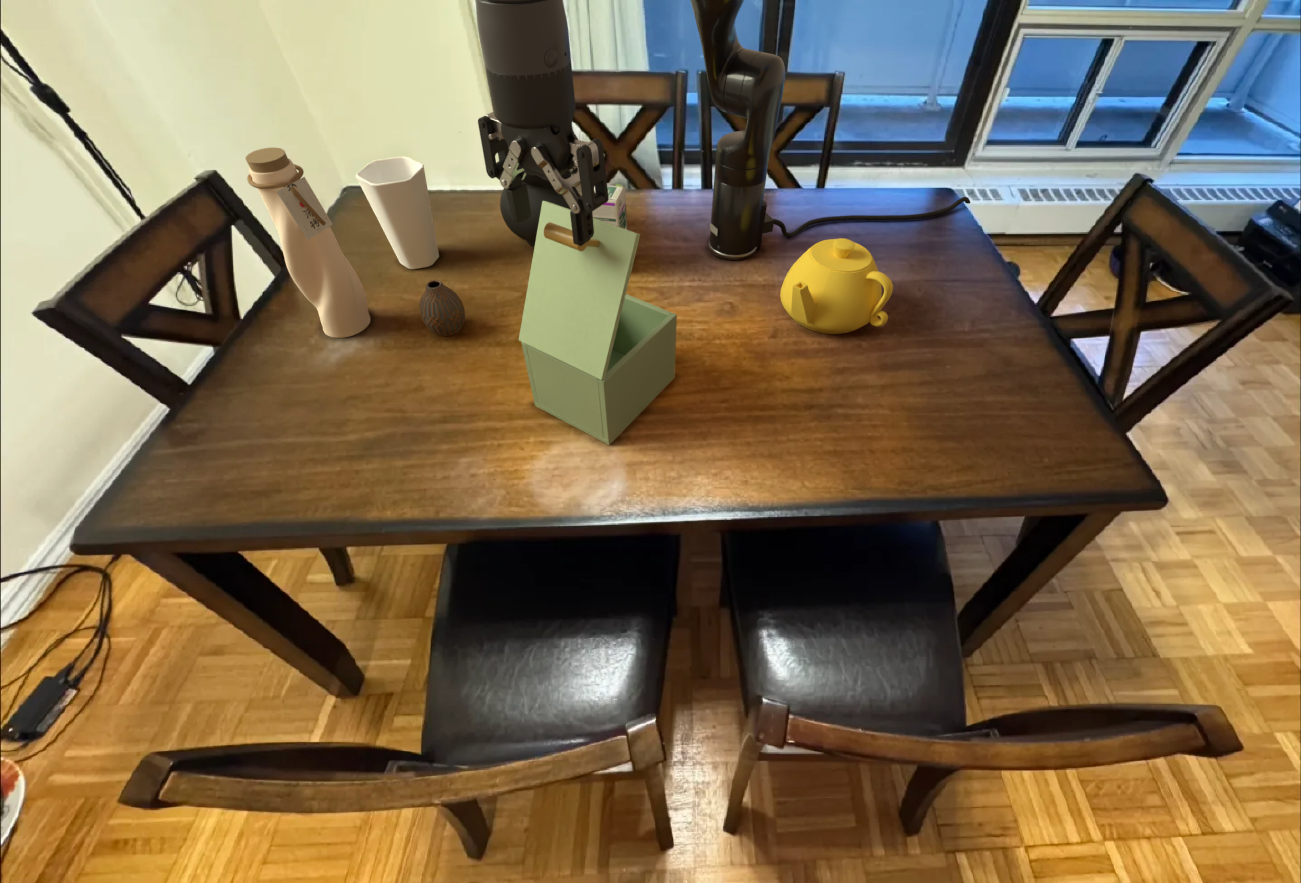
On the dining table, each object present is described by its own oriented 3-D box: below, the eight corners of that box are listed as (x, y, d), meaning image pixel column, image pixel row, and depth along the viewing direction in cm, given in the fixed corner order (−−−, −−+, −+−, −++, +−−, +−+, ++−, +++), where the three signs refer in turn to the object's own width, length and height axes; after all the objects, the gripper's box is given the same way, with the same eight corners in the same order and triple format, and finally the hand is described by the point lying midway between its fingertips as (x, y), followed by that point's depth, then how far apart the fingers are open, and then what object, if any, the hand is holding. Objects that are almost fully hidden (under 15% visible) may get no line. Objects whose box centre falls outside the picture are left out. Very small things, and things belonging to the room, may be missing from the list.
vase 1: (433, 346, 96) (416, 301, 89) (423, 323, 100) (406, 278, 93) (474, 334, 98) (461, 289, 91) (463, 311, 102) (449, 267, 95)
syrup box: (622, 275, 109) (619, 199, 98) (592, 271, 110) (585, 196, 99) (629, 258, 113) (626, 184, 102) (599, 255, 114) (593, 181, 103)
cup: (446, 241, 117) (421, 153, 105) (452, 267, 111) (425, 177, 98) (388, 250, 115) (355, 162, 102) (390, 278, 109) (355, 187, 96)
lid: (546, 201, 70) (517, 196, 66) (640, 234, 65) (615, 232, 61) (522, 339, 78) (495, 343, 74) (605, 379, 72) (580, 386, 68)
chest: (603, 345, 96) (598, 282, 87) (674, 377, 90) (677, 314, 82) (534, 405, 87) (520, 342, 78) (609, 445, 81) (603, 382, 72)
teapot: (814, 271, 109) (829, 206, 100) (906, 315, 101) (932, 248, 91) (746, 318, 100) (755, 250, 91) (840, 370, 91) (862, 302, 82)
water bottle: (392, 314, 101) (324, 147, 80) (359, 346, 96) (276, 175, 75) (343, 303, 104) (264, 137, 83) (308, 333, 98) (213, 163, 77)
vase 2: (492, 256, 114) (443, 45, 87) (527, 210, 125) (493, 13, 99) (583, 268, 111) (560, 54, 84) (610, 220, 122) (597, 19, 96)
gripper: (618, 59, 50) (625, 234, 62) (498, 33, 56) (526, 199, 68) (562, 85, 46) (581, 267, 58) (438, 54, 52) (479, 226, 64)
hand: (551, 230), depth 63 cm, fingers open, 8 cm apart
